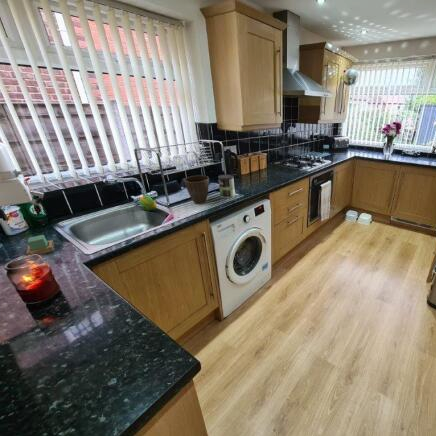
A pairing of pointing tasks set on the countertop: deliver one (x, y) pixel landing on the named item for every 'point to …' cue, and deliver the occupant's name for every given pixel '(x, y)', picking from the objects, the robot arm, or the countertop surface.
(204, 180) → the flower pot
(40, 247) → the green pad
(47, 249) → the base pad
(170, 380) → the countertop surface
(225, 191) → the coffee can
